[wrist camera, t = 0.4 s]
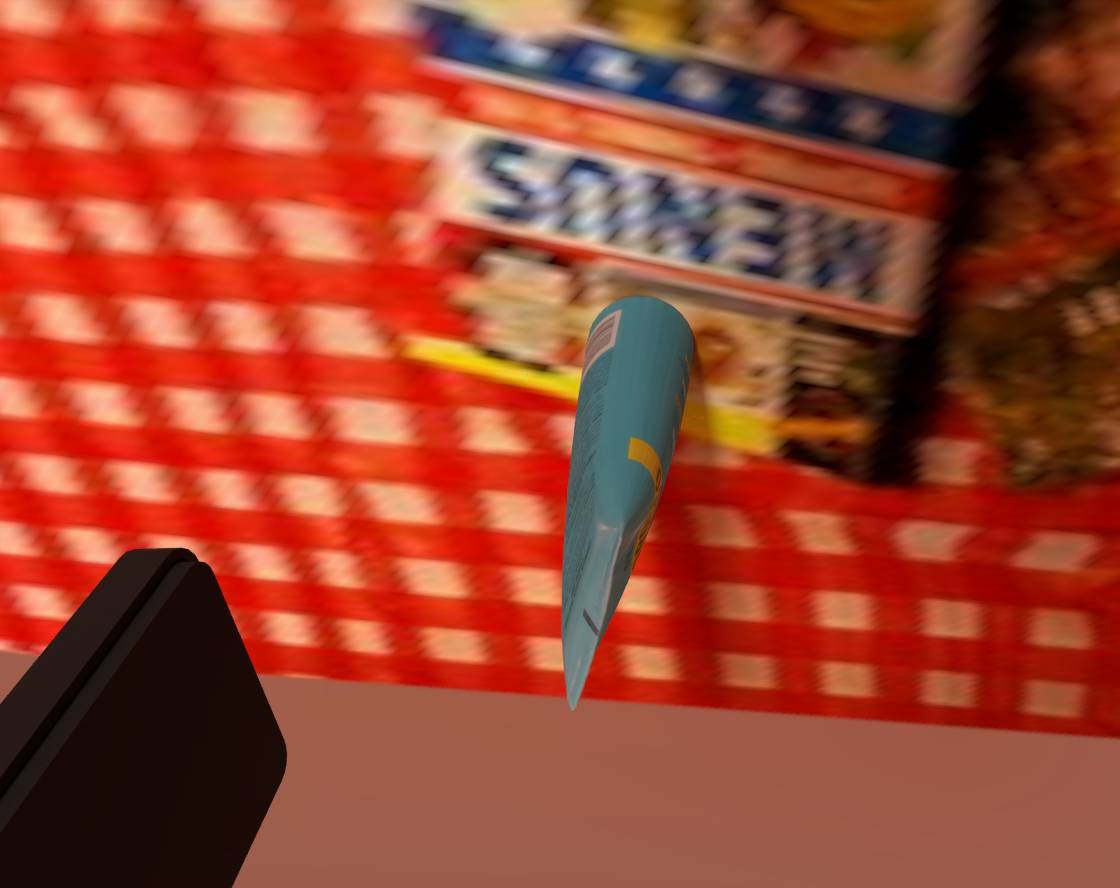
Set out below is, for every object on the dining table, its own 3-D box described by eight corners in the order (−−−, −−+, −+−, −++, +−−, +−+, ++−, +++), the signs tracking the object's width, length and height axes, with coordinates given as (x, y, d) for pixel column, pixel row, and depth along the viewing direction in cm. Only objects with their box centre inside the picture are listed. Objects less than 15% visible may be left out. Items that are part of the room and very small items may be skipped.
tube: (680, 417, 48) (649, 727, 33) (581, 401, 49) (501, 700, 33) (708, 274, 44) (687, 549, 28) (599, 257, 45) (518, 520, 29)
